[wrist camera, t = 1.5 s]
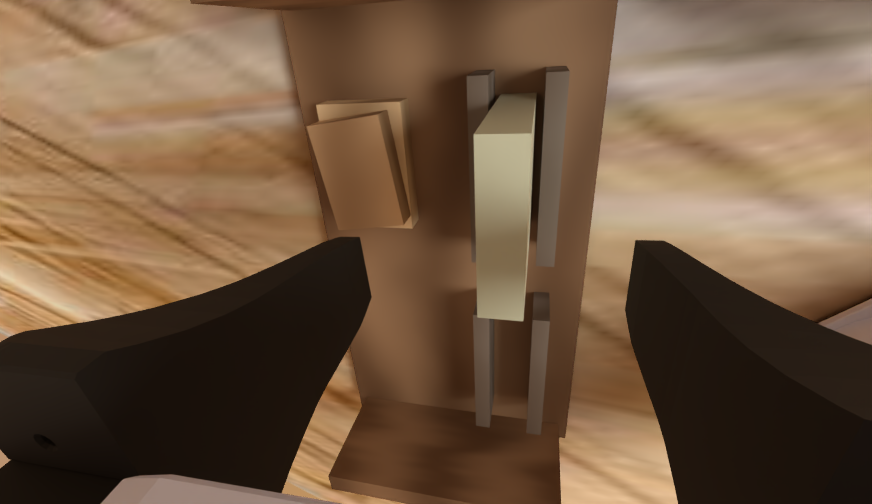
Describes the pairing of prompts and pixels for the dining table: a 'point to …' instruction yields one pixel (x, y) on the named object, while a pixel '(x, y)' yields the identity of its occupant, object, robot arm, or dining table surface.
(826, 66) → the dining table surface
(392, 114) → the offcut lower
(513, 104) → the beige flat block
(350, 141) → the offcut upper
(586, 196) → the rack
